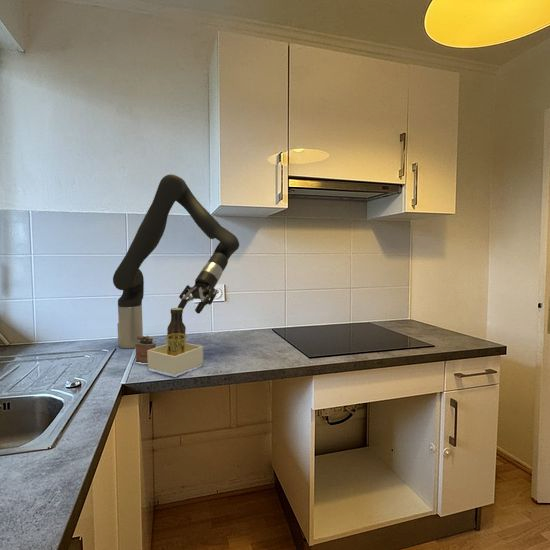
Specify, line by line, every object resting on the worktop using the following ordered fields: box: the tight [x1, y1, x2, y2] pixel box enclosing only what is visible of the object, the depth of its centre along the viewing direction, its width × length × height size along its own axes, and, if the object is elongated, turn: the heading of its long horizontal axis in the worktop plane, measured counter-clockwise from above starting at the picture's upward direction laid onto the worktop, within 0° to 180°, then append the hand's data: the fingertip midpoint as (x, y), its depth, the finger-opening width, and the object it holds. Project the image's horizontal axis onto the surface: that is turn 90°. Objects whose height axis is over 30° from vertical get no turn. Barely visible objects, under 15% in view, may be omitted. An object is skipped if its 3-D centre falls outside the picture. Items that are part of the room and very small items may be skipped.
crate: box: [147, 342, 204, 375], centre depth 115 cm, size 13×13×7 cm
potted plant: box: [135, 335, 157, 363], centre depth 120 cm, size 8×3×10 cm, turn 74°
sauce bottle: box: [166, 307, 187, 356], centre depth 115 cm, size 7×6×20 cm
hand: (188, 310), depth 119 cm, fingers open, 8 cm apart
